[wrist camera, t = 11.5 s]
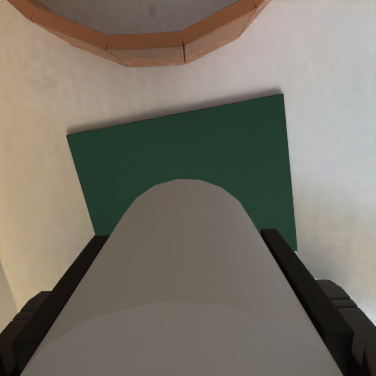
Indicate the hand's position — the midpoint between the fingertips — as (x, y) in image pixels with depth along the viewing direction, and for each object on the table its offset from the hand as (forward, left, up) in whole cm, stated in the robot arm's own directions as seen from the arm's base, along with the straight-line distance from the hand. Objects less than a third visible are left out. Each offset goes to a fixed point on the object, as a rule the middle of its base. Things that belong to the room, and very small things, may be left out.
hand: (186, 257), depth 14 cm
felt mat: (0, 0, -11) cm, 11 cm away
